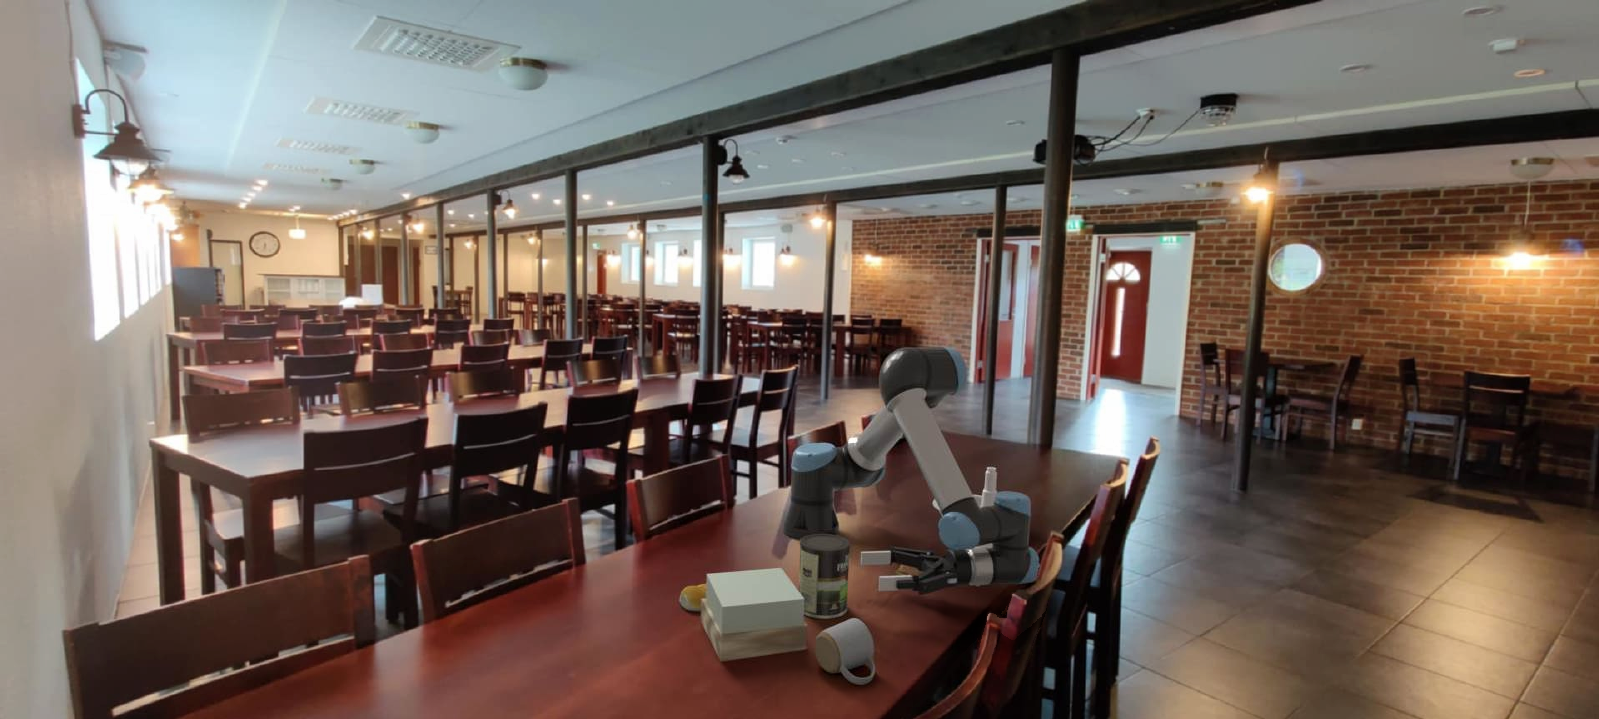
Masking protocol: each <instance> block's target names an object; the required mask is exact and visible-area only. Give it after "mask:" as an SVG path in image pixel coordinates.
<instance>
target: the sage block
mask: <svg viewBox="0 0 1599 719" xmlns="http://www.w3.org/2000/svg"><path fill="white" fill-rule="evenodd" d="M705 584H706V600H707V602H708V605H709V607H710V609H711V611H712V614H713V616H714V618H715V621H716V623H717V625H718V627H719V630H720V632H721V634H731V633H740V632H749V631H758V630H768V629H777V628H786V627H795V626H803V620H804V618H805V617H804V616H805V615H804V598H803V596H802V595H801V594H800V592H799V589H797V587H796V585H794V583H793V582H792V580H791V578H789V576H788V575H787V574H786V573H785V571H784V570H783V569H782V567H777V568H776V567H775V568H763V569H753V570H752V569H751V570H741V571H739V570H737V571H727V572H715V573H706V583H705Z"/></svg>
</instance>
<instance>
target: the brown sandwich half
mask: <svg viewBox="0 0 1599 719" xmlns="http://www.w3.org/2000/svg"><path fill="white" fill-rule="evenodd" d="M921 573H922V571H919V570H918V569H917V568H914V567H910V566H906V565H901V564H900V567H899V568H898V569H897V570H896V571H895V576H901V575H911V576H912V580H913V574H914V575H919V574H921ZM925 588H926V587H925Z"/></svg>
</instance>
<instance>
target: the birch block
mask: <svg viewBox="0 0 1599 719" xmlns="http://www.w3.org/2000/svg"><path fill="white" fill-rule="evenodd" d="M700 623H701V625H702V626H703V629H704V631H705V633H706V635H707V637H708V639H709V640H710V644H711V645H712V647H713V649H714V651H715V652H716V656H717V657H718V659H719V661H720V662H729V661H735V660H740V659H741V660H742V659H748V658H754V657H755V658H756V657H762V656H769V655H775V654H776V655H777V654H782V653H790V652H796V651H797V652H798V651H803V650H807V649H808V648H807V647H808V645H807V644H808V624H807V623H806V621H804V620H803V626H795V627H786V628H777V629H768V630H758V631H749V632H740V633H731V634H721V632H720V630H719V627H718V625H717V623H716V621H715V618H714V616H713V614H712V611H711V609H710V607H709V605H708V602H707V600H706V598H705V599H701V611H700Z"/></svg>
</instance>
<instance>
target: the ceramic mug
mask: <svg viewBox="0 0 1599 719" xmlns="http://www.w3.org/2000/svg"><path fill="white" fill-rule="evenodd" d="M874 645H875V644H874V640H873V636H872V634H871V632H870V630H869V629H868V627H867V625H866V623H864V622H863V621H861V619H859V618H855V617H852V618H849V619H846V620H844V621H842V622H840V623H838V624H836V625H833V626H830V627H828V628H825V629H824V630H822V631H820V633H818V634H817V635H816V637H815V641H814V654H815V658H816V660H817V662H818V664H819V665H820V667H821V668H822V669H823V670H824V671H826V672H827V673H829V674H840V673H841V674H842V675H843V677H844V679H846V680H848V682H850V683H851V684H854V685H859V686H862V685H866V684H869V683H870V682H872V680H873V678H874V677H875V676H874V675H875V673H876V666H875V663H874V660H873V657H874V653H875V646H874ZM863 665H868V667H869V670H870V674H869V676H867V677H859V676H855V675H854V674H853V673H851V672H850V671H849V670H851V669H854V668H857V667H858V668H859V667H861V666H863Z"/></svg>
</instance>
